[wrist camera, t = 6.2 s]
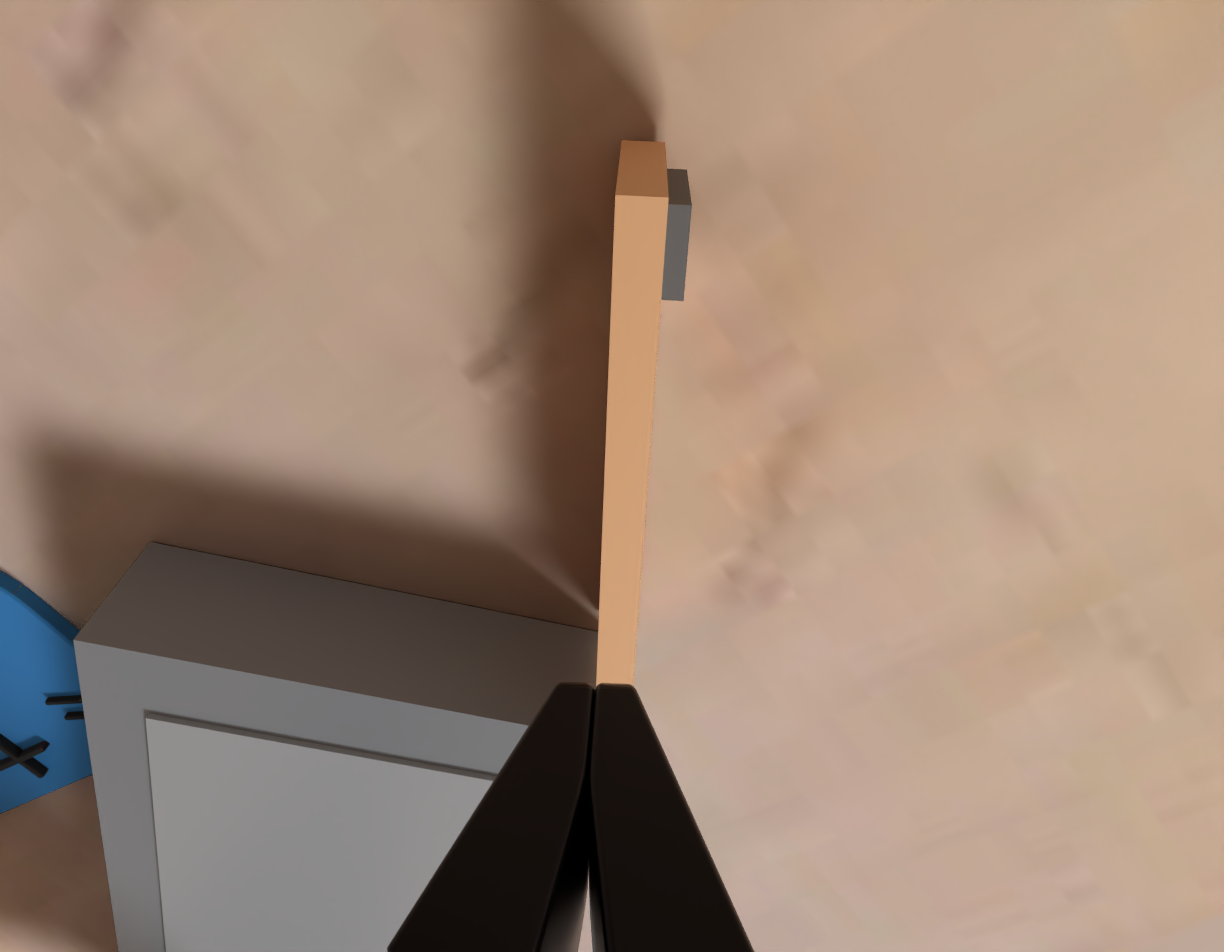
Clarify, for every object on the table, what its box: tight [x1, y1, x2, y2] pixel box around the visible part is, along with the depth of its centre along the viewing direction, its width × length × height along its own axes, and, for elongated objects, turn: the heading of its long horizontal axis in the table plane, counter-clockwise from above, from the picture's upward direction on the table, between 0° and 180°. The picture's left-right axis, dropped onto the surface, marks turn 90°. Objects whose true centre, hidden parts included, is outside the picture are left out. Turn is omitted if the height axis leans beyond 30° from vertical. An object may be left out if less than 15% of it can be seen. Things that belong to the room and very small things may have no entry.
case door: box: [596, 140, 692, 687], centre depth 18 cm, size 1×12×4 cm, turn 178°
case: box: [73, 542, 598, 952], centre depth 25 cm, size 16×12×4 cm
